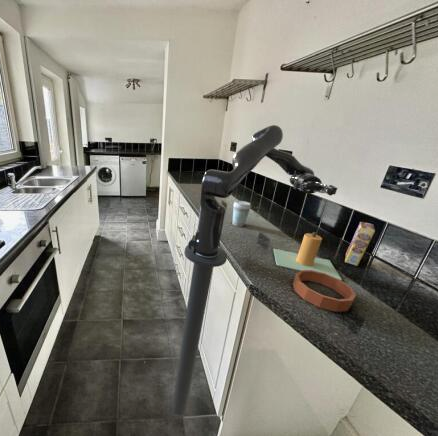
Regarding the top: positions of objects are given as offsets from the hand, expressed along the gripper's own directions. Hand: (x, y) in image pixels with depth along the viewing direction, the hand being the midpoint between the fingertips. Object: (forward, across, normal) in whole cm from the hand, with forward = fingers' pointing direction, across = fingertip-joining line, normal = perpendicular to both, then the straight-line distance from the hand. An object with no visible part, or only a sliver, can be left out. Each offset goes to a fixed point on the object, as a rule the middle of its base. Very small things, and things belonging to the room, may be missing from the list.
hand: (318, 191), depth 88 cm
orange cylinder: (+11, 0, +26) cm, 28 cm away
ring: (+30, +1, +26) cm, 40 cm away
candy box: (-1, +19, +26) cm, 32 cm away
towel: (+11, 0, +26) cm, 28 cm away
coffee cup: (-18, -25, +26) cm, 40 cm away
